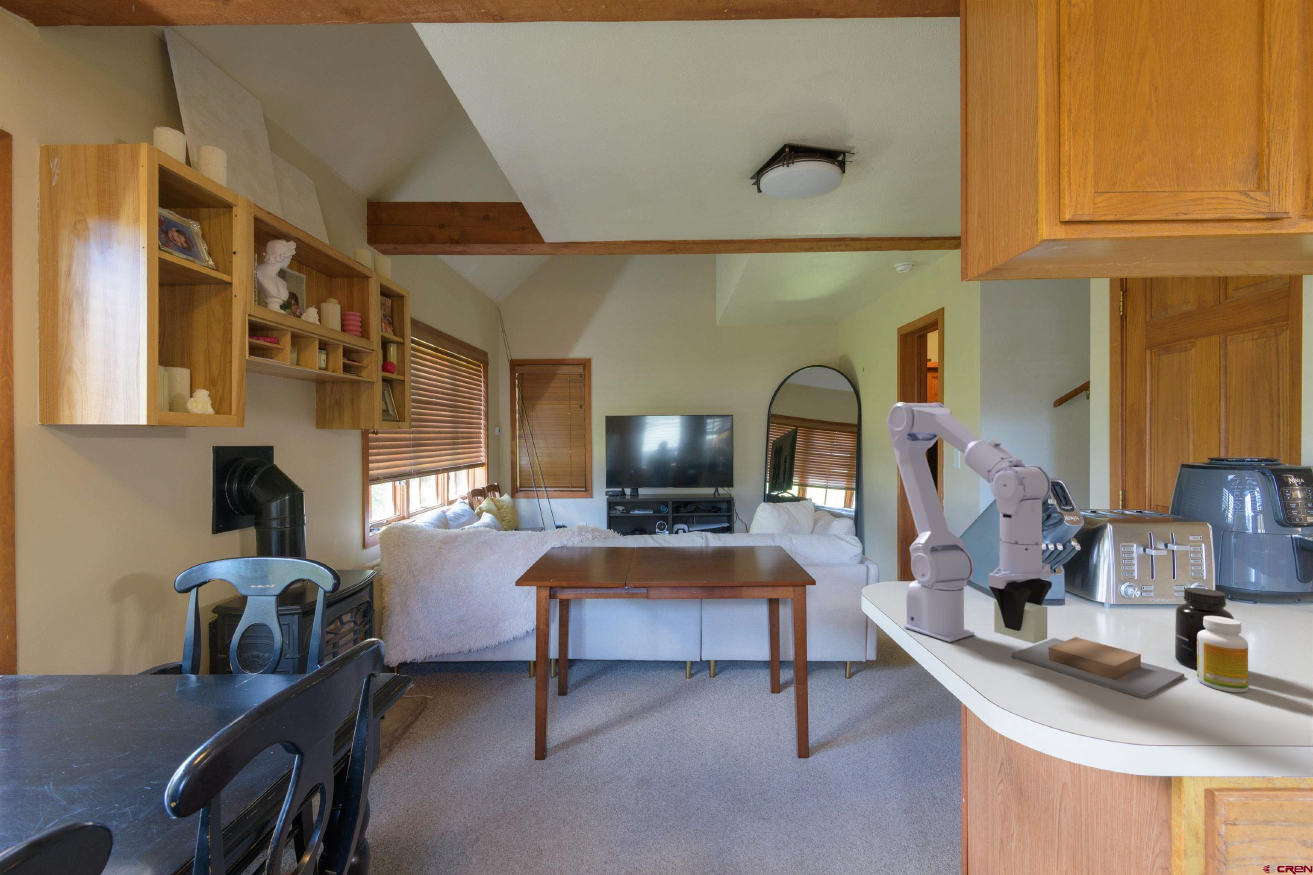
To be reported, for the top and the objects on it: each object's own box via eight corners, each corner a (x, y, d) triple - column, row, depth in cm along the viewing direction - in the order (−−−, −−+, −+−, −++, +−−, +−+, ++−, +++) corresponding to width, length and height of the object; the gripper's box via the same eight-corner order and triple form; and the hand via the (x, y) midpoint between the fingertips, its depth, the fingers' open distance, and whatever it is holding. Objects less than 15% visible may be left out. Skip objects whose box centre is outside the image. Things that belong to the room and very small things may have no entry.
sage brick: (994, 631, 94) (994, 601, 94) (1007, 627, 96) (1007, 597, 96) (1034, 643, 88) (1033, 611, 88) (1047, 638, 90) (1047, 607, 90)
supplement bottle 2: (1258, 695, 82) (1259, 626, 82) (1214, 691, 83) (1214, 624, 83) (1229, 679, 87) (1229, 614, 87) (1188, 676, 88) (1187, 612, 88)
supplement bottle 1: (1165, 661, 94) (1165, 588, 94) (1188, 654, 96) (1188, 583, 96) (1220, 677, 87) (1220, 599, 87) (1243, 670, 90) (1243, 593, 90)
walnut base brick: (1048, 659, 94) (1048, 647, 93) (1075, 648, 98) (1075, 636, 98) (1114, 679, 86) (1114, 666, 86) (1140, 666, 90) (1140, 654, 90)
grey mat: (1011, 656, 96) (1011, 653, 96) (1054, 640, 103) (1054, 637, 103) (1144, 699, 81) (1144, 695, 81) (1184, 676, 88) (1184, 673, 88)
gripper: (1022, 551, 85) (1022, 642, 85) (1071, 540, 92) (1071, 625, 92) (975, 543, 91) (975, 628, 91) (1024, 534, 98) (1024, 613, 98)
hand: (1020, 626), depth 92 cm, fingers closed on sage brick, 4 cm apart
